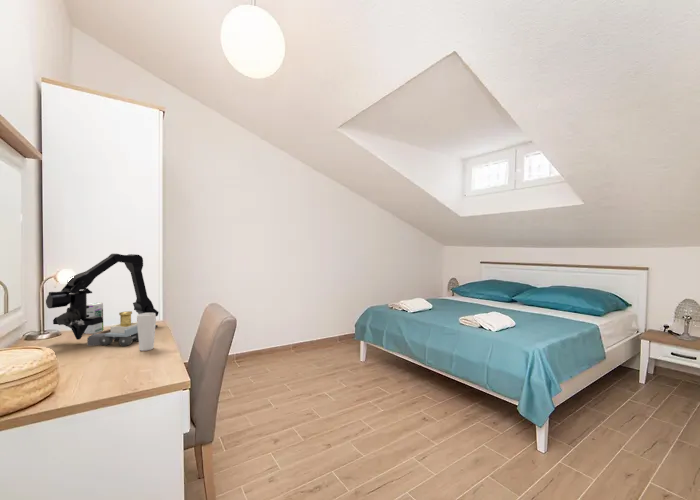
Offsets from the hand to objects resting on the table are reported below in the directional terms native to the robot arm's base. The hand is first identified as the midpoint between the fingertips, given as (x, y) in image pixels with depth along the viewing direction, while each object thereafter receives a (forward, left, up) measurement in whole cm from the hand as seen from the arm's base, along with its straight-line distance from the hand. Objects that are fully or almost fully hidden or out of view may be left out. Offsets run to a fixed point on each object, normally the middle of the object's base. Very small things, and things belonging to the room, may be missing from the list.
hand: (78, 339), depth 144 cm
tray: (-4, +19, +3) cm, 20 cm away
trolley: (-3, +19, -2) cm, 19 cm away
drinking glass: (+4, +35, -2) cm, 35 cm away
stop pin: (-4, +19, +4) cm, 20 cm away
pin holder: (-13, +4, -2) cm, 13 cm away
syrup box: (-18, -9, -2) cm, 20 cm away
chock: (-1, +8, -2) cm, 8 cm away
